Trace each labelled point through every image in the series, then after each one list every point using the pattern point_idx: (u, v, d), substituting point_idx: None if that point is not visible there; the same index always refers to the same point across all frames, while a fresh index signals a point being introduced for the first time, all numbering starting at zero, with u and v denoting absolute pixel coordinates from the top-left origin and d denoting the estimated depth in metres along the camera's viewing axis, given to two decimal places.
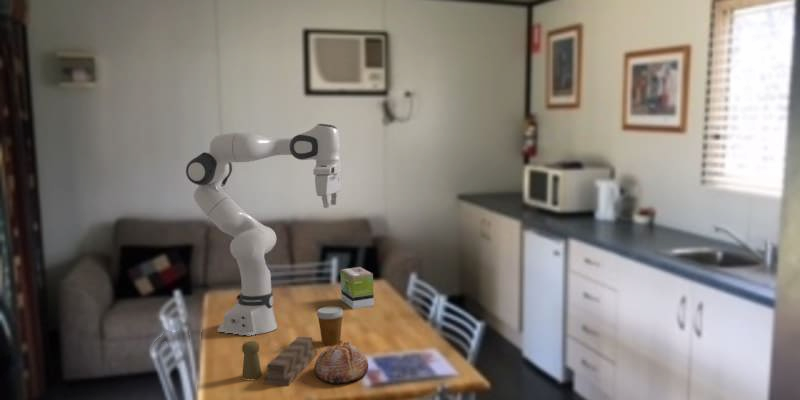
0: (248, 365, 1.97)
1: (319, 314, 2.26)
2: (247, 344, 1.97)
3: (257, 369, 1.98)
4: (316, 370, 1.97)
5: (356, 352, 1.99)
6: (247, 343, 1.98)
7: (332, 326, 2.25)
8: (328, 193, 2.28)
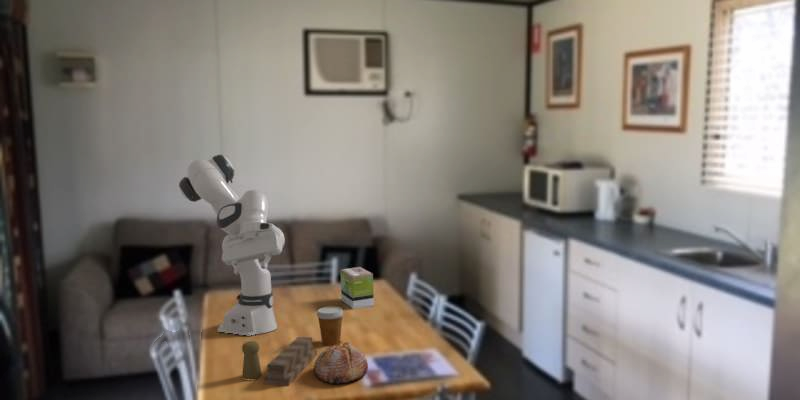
0: (248, 365, 1.97)
1: (319, 314, 2.26)
2: (247, 344, 1.97)
3: (257, 369, 1.98)
4: (316, 370, 1.97)
5: (356, 352, 1.99)
6: (247, 343, 1.98)
7: (332, 326, 2.25)
8: None
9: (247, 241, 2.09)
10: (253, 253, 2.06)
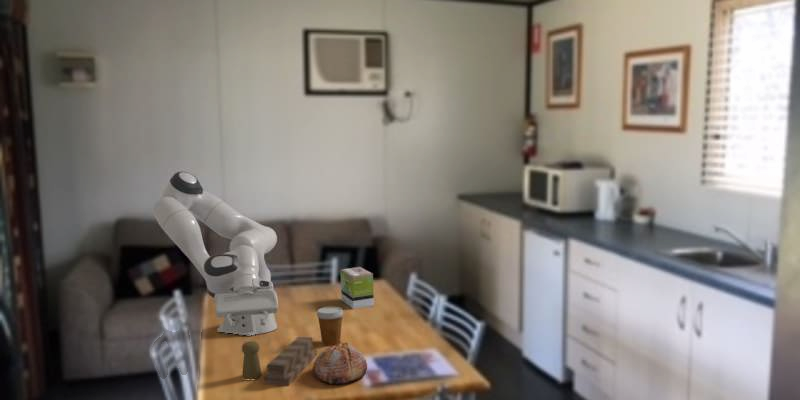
0: (248, 365, 1.97)
1: (319, 314, 2.26)
2: (247, 344, 1.97)
3: (257, 369, 1.98)
4: (315, 371, 1.96)
5: (355, 352, 1.99)
6: (247, 343, 1.98)
7: (332, 326, 2.25)
8: None
9: (243, 296, 2.12)
10: (252, 309, 2.09)
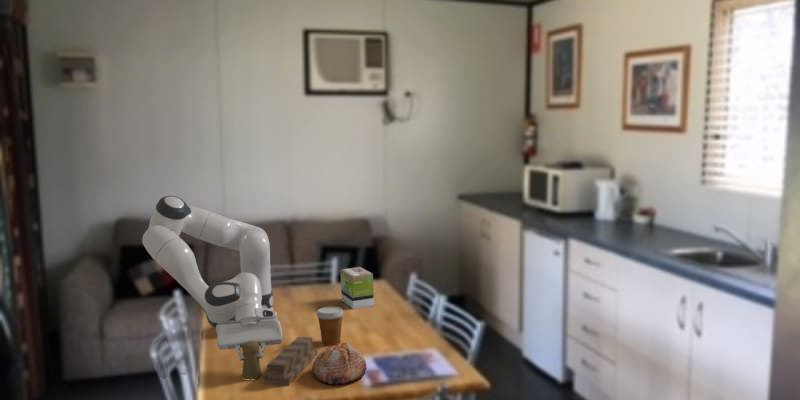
0: (248, 365, 1.97)
1: (319, 314, 2.26)
2: (247, 344, 1.97)
3: (257, 369, 1.98)
4: (314, 371, 1.96)
5: (354, 353, 1.98)
6: (247, 343, 1.98)
7: (332, 326, 2.25)
8: None
9: (246, 327, 2.03)
10: (255, 340, 2.01)
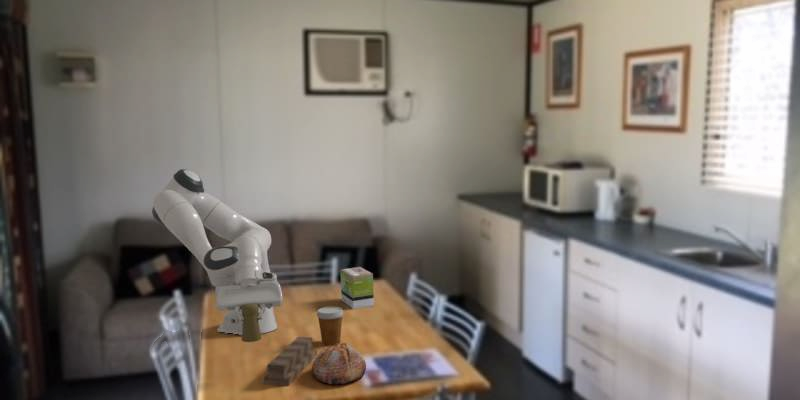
0: (247, 327, 1.96)
1: (319, 314, 2.26)
2: (246, 306, 1.96)
3: (256, 331, 1.97)
4: (314, 371, 1.96)
5: (354, 353, 1.98)
6: (246, 305, 1.97)
7: (332, 326, 2.25)
8: None
9: (246, 288, 2.02)
10: (255, 302, 1.99)
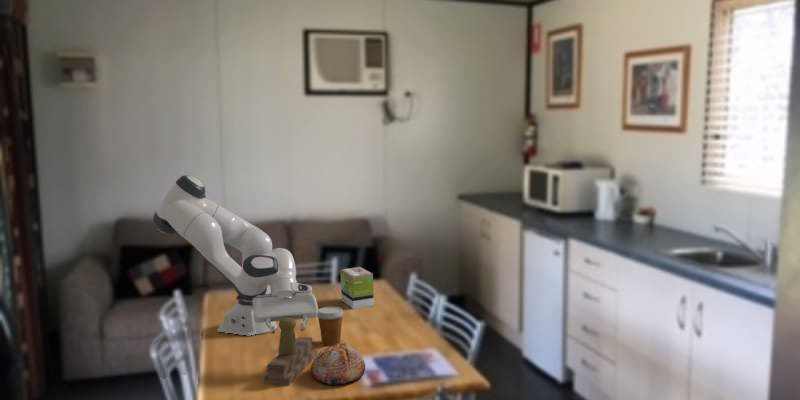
0: (284, 341, 2.00)
1: (319, 314, 2.26)
2: (284, 320, 2.00)
3: (293, 345, 2.01)
4: (313, 371, 1.96)
5: (353, 353, 1.98)
6: (284, 319, 2.01)
7: (332, 326, 2.25)
8: None
9: (282, 300, 2.06)
10: (291, 313, 2.04)
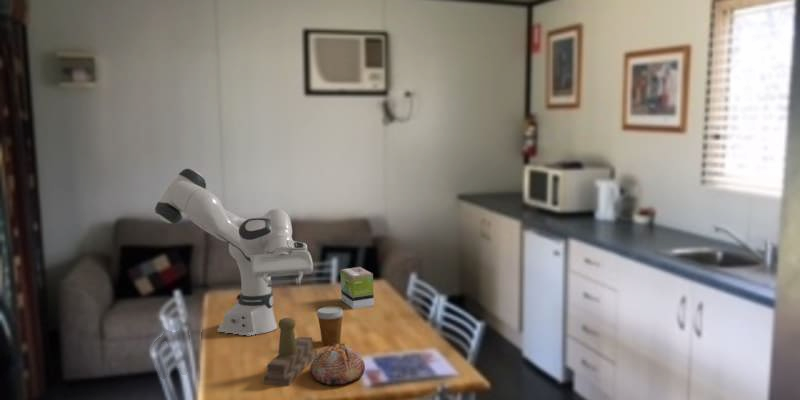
0: (284, 341, 2.00)
1: (319, 314, 2.26)
2: (284, 321, 2.00)
3: (293, 345, 2.01)
4: (312, 372, 1.95)
5: (352, 353, 1.98)
6: (283, 319, 2.01)
7: (332, 326, 2.25)
8: None
9: (279, 257, 2.16)
10: (287, 269, 2.14)
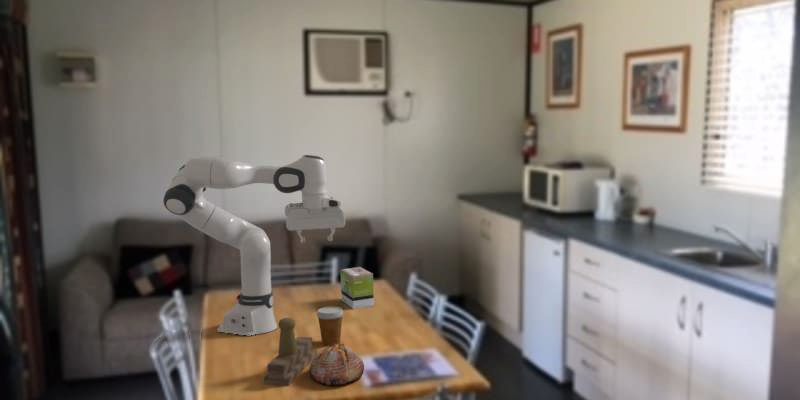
0: (284, 341, 2.00)
1: (319, 314, 2.26)
2: (284, 321, 2.00)
3: (293, 345, 2.01)
4: (312, 372, 1.95)
5: (352, 353, 1.98)
6: (283, 319, 2.01)
7: (332, 326, 2.25)
8: None
9: (313, 213, 2.21)
10: (321, 227, 2.22)
